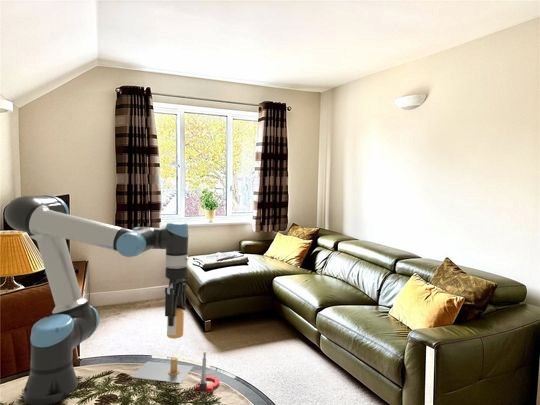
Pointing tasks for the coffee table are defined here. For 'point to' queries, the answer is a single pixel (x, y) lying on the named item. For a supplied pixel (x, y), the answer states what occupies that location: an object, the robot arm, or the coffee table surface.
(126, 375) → the coffee table surface
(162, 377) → the board
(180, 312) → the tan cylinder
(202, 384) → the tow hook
